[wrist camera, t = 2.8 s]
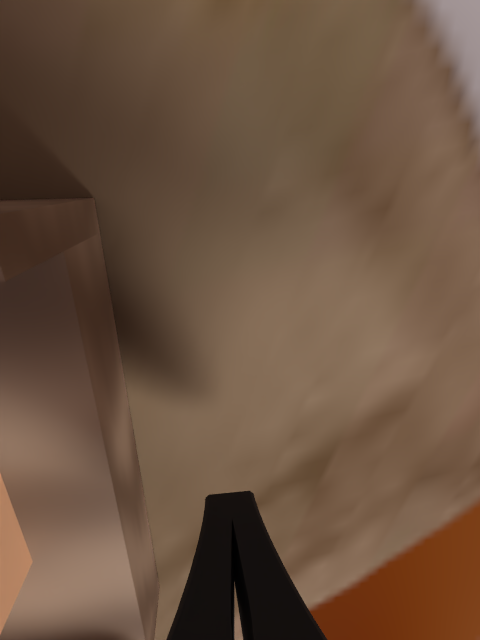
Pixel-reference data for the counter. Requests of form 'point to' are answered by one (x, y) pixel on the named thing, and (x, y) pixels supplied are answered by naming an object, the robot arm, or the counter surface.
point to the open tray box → (69, 433)
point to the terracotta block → (10, 556)
